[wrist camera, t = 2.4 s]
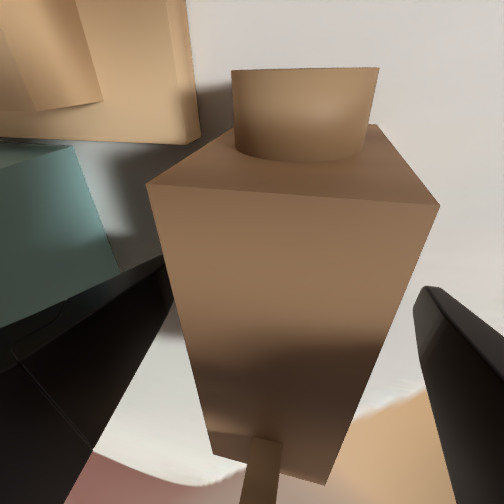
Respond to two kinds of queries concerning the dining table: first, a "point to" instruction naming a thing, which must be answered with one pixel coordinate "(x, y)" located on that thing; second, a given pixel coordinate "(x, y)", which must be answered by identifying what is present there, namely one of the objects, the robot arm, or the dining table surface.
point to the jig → (97, 71)
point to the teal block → (47, 230)
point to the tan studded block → (289, 265)
